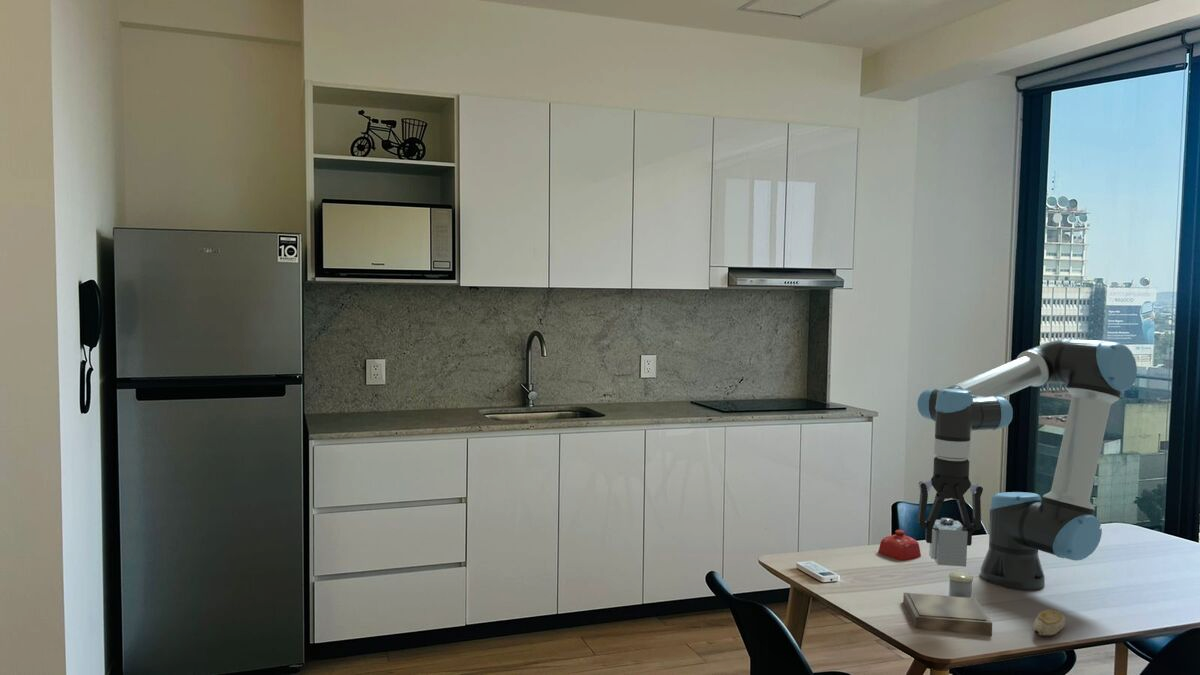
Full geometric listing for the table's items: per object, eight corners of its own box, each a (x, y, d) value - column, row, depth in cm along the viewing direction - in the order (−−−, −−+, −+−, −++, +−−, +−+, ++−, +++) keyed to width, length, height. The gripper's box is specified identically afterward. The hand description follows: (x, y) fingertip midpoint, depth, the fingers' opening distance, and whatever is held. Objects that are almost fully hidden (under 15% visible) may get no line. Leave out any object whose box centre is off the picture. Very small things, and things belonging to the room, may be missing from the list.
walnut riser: (973, 610, 208) (974, 596, 208) (991, 636, 192) (992, 621, 192) (903, 604, 211) (903, 591, 211) (915, 630, 195) (915, 616, 195)
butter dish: (902, 568, 240) (903, 537, 239) (868, 557, 249) (869, 527, 249) (929, 562, 246) (930, 532, 245) (896, 551, 255) (897, 522, 255)
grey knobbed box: (966, 566, 196) (967, 527, 195) (937, 564, 197) (939, 525, 196) (956, 554, 205) (958, 517, 204) (929, 553, 206) (931, 515, 205)
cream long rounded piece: (1053, 629, 188) (1048, 647, 189) (1073, 610, 198) (1068, 628, 199) (1028, 618, 191) (1023, 636, 192) (1048, 600, 202) (1043, 617, 202)
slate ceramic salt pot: (969, 599, 216) (970, 572, 215) (974, 607, 210) (975, 579, 210) (945, 597, 217) (946, 571, 216) (950, 605, 211) (951, 578, 211)
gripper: (991, 456, 202) (987, 556, 203) (905, 452, 205) (901, 550, 206) (1000, 462, 194) (996, 566, 195) (910, 458, 197) (906, 560, 199)
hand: (947, 557), depth 201 cm, fingers closed on grey knobbed box, 6 cm apart
